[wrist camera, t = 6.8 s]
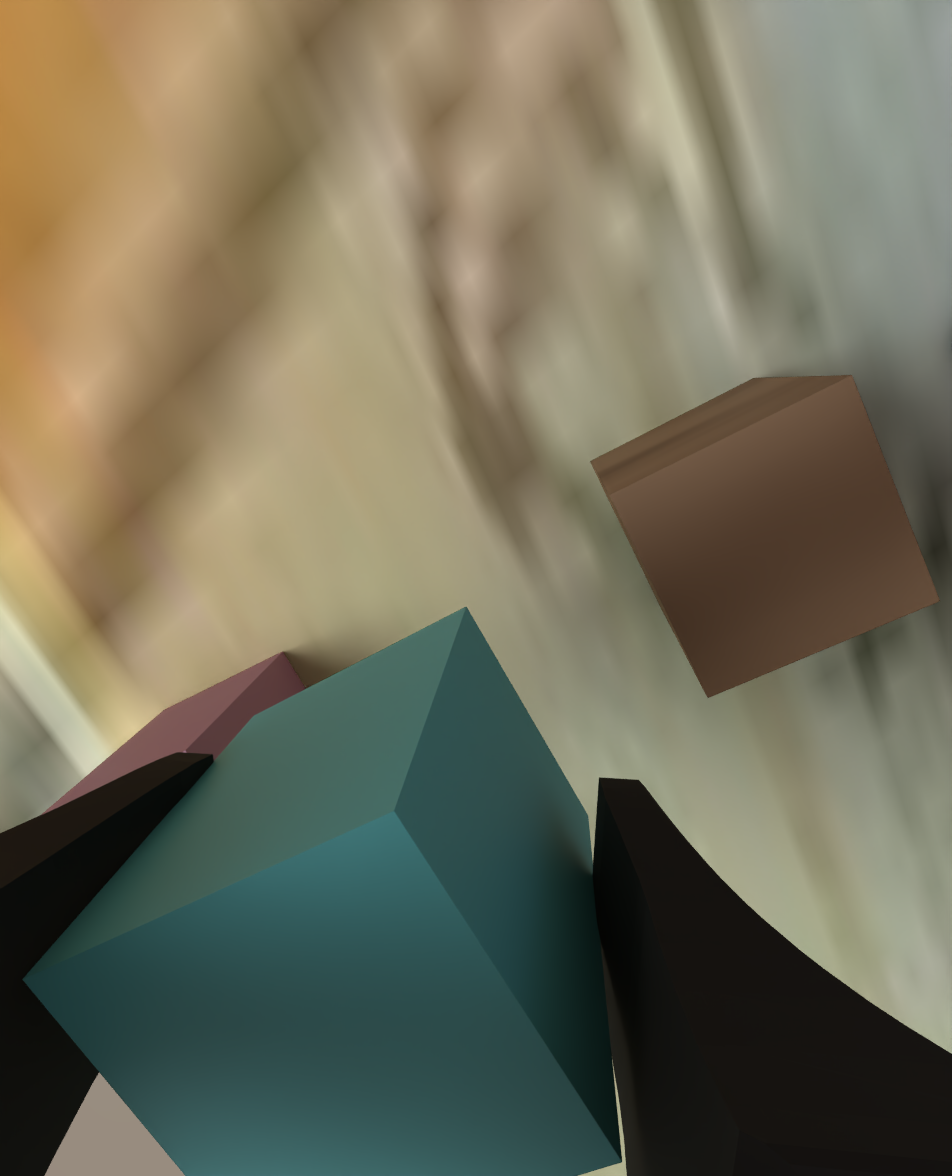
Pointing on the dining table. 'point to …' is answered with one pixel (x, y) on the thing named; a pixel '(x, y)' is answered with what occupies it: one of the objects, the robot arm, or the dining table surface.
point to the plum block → (198, 722)
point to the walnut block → (767, 526)
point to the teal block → (359, 941)
